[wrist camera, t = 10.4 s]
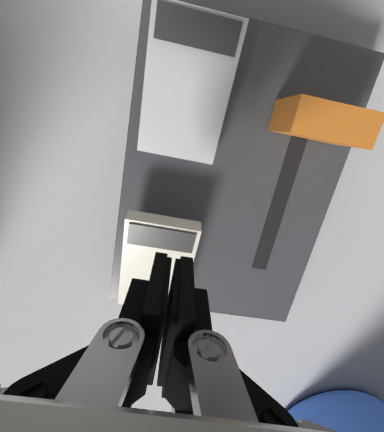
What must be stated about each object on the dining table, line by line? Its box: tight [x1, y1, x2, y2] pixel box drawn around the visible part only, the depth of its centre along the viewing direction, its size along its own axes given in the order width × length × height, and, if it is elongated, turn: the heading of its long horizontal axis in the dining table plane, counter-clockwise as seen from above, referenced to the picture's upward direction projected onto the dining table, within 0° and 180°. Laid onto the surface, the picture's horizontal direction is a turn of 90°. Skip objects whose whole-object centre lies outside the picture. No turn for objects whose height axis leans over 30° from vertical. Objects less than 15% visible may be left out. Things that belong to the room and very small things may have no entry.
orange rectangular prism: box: [268, 94, 384, 150], centre depth 17 cm, size 2×5×4 cm, turn 79°
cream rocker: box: [118, 210, 202, 305], centre depth 20 cm, size 8×5×1 cm, turn 169°
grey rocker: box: [137, 0, 249, 165], centre depth 16 cm, size 8×5×1 cm, turn 169°
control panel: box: [109, 0, 384, 322], centre depth 21 cm, size 22×16×4 cm
